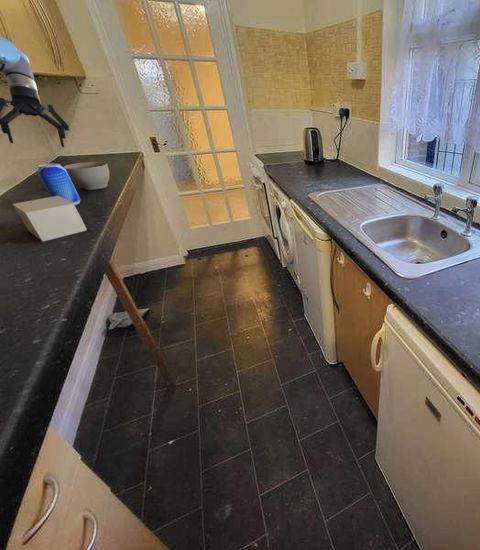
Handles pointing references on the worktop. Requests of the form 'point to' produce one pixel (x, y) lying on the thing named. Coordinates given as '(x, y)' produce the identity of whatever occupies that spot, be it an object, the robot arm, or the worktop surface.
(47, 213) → the white slanted wedge
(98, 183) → the planter bowl
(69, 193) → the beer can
